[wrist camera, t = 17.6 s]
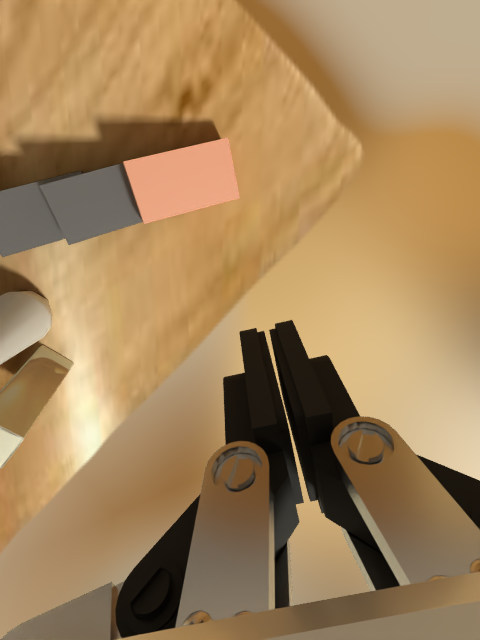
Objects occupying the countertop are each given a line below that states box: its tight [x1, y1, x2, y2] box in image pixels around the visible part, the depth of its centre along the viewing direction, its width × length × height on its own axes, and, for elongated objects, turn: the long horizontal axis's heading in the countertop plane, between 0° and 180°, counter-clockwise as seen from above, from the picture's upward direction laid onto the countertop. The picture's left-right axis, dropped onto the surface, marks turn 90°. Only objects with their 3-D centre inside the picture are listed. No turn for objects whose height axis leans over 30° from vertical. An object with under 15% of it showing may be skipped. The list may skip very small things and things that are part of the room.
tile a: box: [40, 163, 143, 245], centre depth 30 cm, size 5×2×9 cm
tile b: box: [0, 171, 83, 257], centre depth 30 cm, size 5×2×9 cm
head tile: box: [123, 138, 240, 224], centre depth 30 cm, size 5×2×9 cm
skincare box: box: [0, 345, 74, 469], centre depth 35 cm, size 6×4×12 cm
